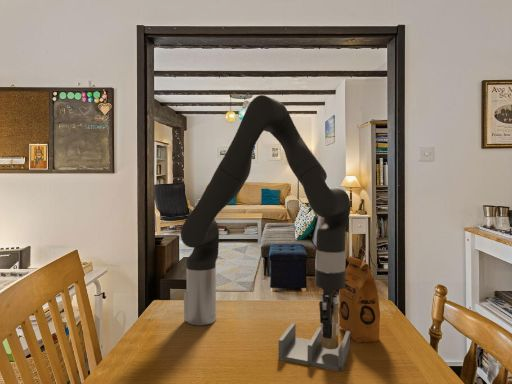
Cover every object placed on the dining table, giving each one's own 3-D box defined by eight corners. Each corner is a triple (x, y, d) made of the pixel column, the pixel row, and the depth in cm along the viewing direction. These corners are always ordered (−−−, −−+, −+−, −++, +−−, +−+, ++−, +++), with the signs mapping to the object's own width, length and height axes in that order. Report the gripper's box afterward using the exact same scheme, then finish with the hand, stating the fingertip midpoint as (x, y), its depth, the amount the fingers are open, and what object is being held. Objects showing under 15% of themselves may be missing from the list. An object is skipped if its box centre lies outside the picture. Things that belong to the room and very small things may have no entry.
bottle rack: (278, 359, 96) (278, 340, 96) (292, 340, 107) (292, 322, 107) (342, 371, 90) (342, 351, 90) (349, 349, 101) (350, 331, 101)
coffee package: (351, 345, 104) (352, 265, 103) (335, 327, 117) (335, 255, 116) (385, 342, 106) (386, 264, 105) (365, 325, 118) (366, 254, 117)
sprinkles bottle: (342, 347, 97) (343, 295, 96) (329, 351, 94) (330, 298, 94) (329, 340, 101) (330, 290, 100) (316, 344, 98) (317, 293, 97)
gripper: (321, 260, 104) (320, 321, 105) (308, 272, 91) (308, 342, 92) (349, 262, 102) (348, 325, 102) (340, 276, 88) (339, 348, 89)
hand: (329, 333), depth 97 cm, fingers closed on sprinkles bottle, 4 cm apart
